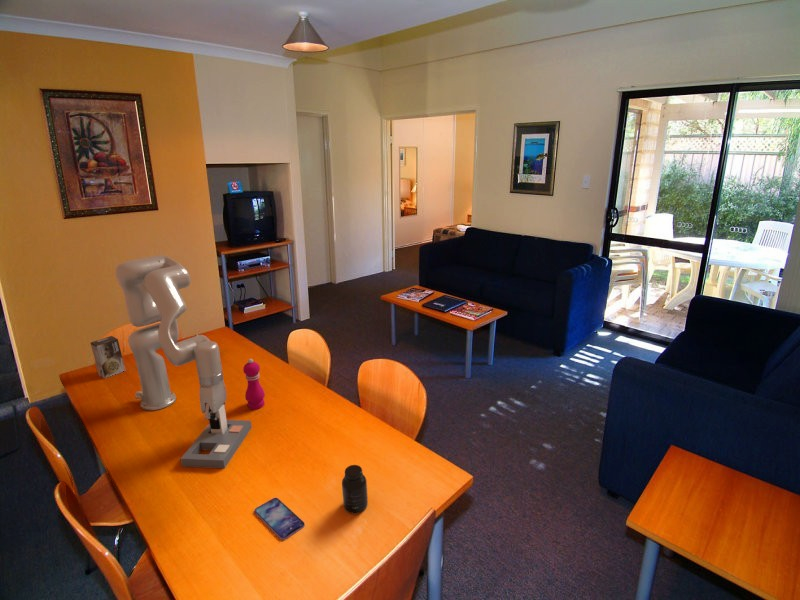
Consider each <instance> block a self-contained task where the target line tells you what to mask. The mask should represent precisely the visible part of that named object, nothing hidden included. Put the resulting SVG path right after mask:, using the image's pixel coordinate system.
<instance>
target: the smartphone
mask: <svg viewBox="0 0 800 600" xmlns="http://www.w3.org/2000/svg"><path fill="white" fill-rule="evenodd" d="M254 514H255V515H256V516H257V517H258V518H259V519H260V521H262V522H263V523H264V524H265V525H266V526H267V528H269V530H270V531H271V532H273V534H275V536H276V537H278V539H280V540H281V541H285V540H288V539H290V538H291V536H293V535H295V534H296V533H298V532H299V531H301V530H302V529H304V528H305V524H306V523H305V522H304V521H303V520H302V518H300V517H299V516H298V515H297V514H296V513H295V512H293V510H292V509H290V508H289V507H288V506H287V505H286V504H285V503H284V502H283V501H282V500H280V499H279V497H273V498H271V499H269V500H268V501H265V502H264V503H262V504H260V505H259V506H257V507H256V508H255V509H254Z"/></svg>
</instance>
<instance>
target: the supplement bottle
mask: <svg viewBox="0 0 800 600" xmlns="http://www.w3.org/2000/svg"><path fill="white" fill-rule="evenodd" d="M341 488H342V489H341V490H342V503H343V508H344V510H345V511H346V512H348V513H350V514H359V513H360V514H361V513H362V512H364V511H365V510H366V509H367V507H368V504H369V503H368V501H369V499H368V483H367V478H366V476H365V475H364V473H363V468H362V467H361V465H357V464H351V465H348V466H347V467H346V468H345V469H344V476H343V478H342V479H341Z"/></svg>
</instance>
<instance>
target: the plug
mask: <svg viewBox="0 0 800 600" xmlns="http://www.w3.org/2000/svg"><path fill="white" fill-rule="evenodd" d="M211 415H213V416H214V413H211ZM217 418H219V423H220V429H211V434H224V433H225V432H226V431H227V429H228V427H227V420H228V419H227V414H226V406H224V405H222V406H221V407H220V409H219V410H218V411H217ZM210 428H211V427H210Z"/></svg>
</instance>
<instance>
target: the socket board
mask: <svg viewBox="0 0 800 600" xmlns="http://www.w3.org/2000/svg"><path fill="white" fill-rule="evenodd" d="M226 420H227V427H228V429H227V431H226V432H225V433H224V434H211V428H210V423H208V424H207V426H206V427H205V428H204V429H203V431H202V432H201V433H200V434H199V436H198V437H197V438H196V439H195V440H194V442H193V443H192V444H191V446H189V448H188V449H187V450H186V451H185V453H184V454H183V455H182V456H181V458H180V462H181V467H187V468H188V467H189V468H208V469H209V468H210V469H211V468H212V469H225V468H226V467H227V466H228V464H229V463H230V461H231V460H232V458H233V457H234V455H235V454H236V452H237V451H238V449H240V448H239V447H240V446H241V445H242V443H243V442H244V440H245V438H246V437H247V435H248V434H249V432H250V431H251V430H252V422H251V420H245V419H244V420H242V419H226ZM201 451H210V452H209V453H208V454H205V453H204V454H201V453H200V452H201Z"/></svg>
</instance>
